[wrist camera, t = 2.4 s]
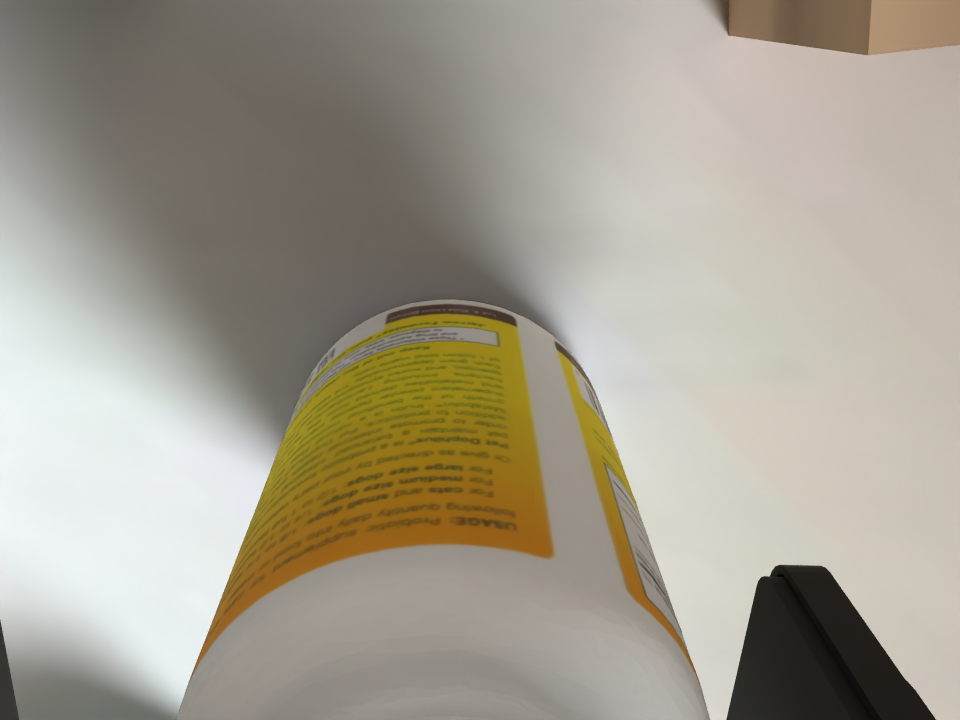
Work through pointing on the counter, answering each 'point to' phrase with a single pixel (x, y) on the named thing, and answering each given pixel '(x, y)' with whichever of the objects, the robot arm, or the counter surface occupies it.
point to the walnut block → (849, 23)
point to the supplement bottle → (446, 544)
